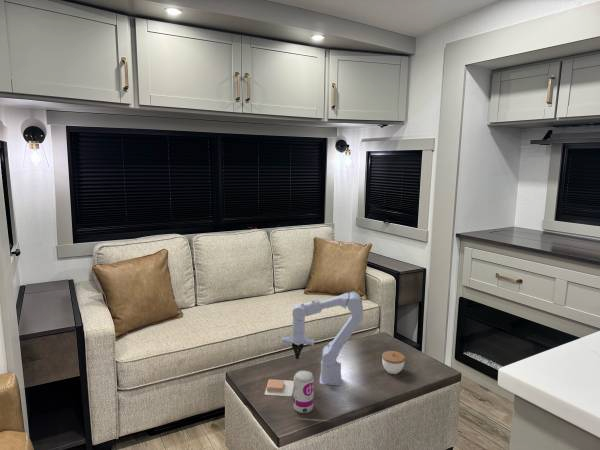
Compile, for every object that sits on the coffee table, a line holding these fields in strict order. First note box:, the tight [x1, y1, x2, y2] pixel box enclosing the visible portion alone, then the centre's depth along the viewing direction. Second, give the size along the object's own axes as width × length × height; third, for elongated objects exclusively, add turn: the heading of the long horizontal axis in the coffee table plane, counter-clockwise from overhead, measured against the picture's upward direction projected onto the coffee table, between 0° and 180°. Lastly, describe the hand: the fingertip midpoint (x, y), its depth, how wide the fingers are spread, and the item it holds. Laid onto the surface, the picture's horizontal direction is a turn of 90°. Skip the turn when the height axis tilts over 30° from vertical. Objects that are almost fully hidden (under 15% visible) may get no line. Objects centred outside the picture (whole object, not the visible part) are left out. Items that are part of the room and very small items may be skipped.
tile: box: [266, 379, 284, 391], centre depth 182 cm, size 2×6×7 cm
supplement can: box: [292, 369, 315, 414], centre depth 167 cm, size 8×8×15 cm
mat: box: [264, 379, 294, 397], centre depth 182 cm, size 12×12×1 cm
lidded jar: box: [381, 350, 406, 375], centre depth 198 cm, size 11×11×9 cm
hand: (297, 358), depth 189 cm, fingers closed
